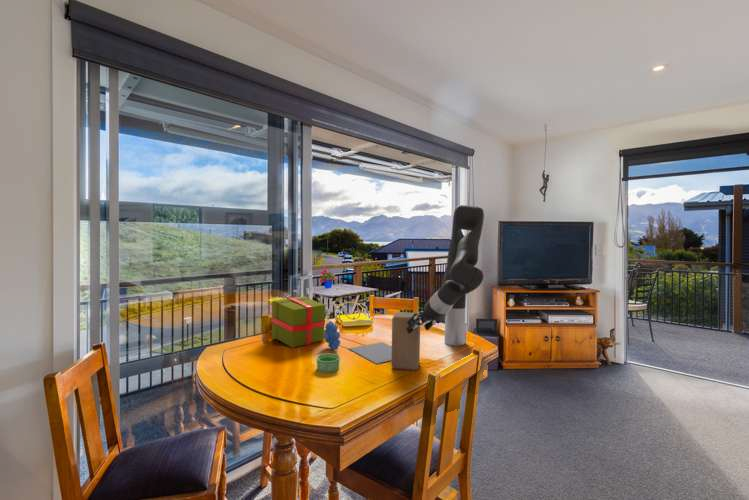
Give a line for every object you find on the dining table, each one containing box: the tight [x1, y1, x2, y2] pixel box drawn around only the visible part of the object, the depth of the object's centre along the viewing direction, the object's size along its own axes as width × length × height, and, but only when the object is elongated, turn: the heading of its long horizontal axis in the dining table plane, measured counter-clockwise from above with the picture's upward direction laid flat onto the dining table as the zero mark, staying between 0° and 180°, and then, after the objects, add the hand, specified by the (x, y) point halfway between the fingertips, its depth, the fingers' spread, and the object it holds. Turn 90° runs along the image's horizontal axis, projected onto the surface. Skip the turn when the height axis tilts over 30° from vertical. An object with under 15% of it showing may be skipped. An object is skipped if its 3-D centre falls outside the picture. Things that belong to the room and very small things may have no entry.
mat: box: [348, 341, 392, 365], centre depth 159 cm, size 18×22×1 cm
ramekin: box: [315, 353, 341, 373], centre depth 139 cm, size 9×9×4 cm
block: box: [390, 311, 421, 371], centre depth 143 cm, size 10×10×20 cm
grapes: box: [324, 321, 341, 351], centre depth 162 cm, size 12×7×12 cm, turn 36°
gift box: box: [271, 296, 326, 348], centre depth 176 cm, size 21×21×25 cm
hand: (417, 329), depth 138 cm, fingers open, 8 cm apart
